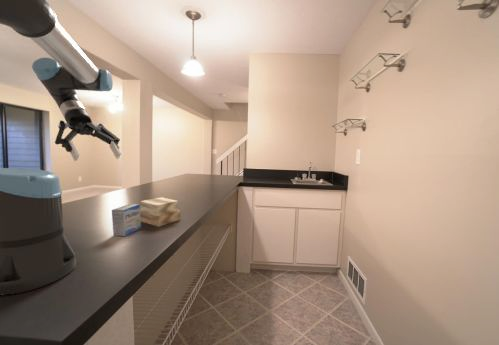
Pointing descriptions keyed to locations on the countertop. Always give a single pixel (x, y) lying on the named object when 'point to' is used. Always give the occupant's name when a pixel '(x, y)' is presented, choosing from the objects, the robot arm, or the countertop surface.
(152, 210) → the tower top slab
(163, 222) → the tower bottom slab
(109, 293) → the countertop surface
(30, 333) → the countertop surface
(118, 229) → the medicine box
